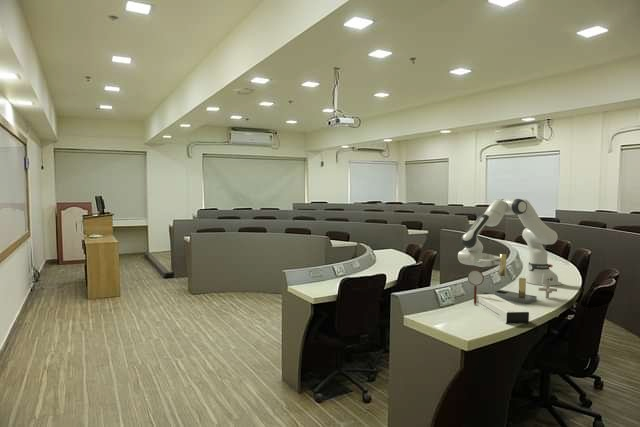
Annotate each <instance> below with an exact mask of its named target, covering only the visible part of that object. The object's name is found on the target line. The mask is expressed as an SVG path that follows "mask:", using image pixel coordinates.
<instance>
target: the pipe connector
mask: <svg viewBox="0 0 640 427" xmlns="http://www.w3.org/2000/svg"><path fill="white" fill-rule="evenodd" d="M549 284H550V282H549V281H546V286H543V287H537V289H538V291H539V292H541V291H542V292H545V298H546V299H549V298H550V294H552V293H553V292H555V293H556V292H558V288H550V286H549Z"/></svg>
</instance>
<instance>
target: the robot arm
mask: <svg viewBox="0 0 640 427" xmlns="http://www.w3.org/2000/svg"><path fill="white" fill-rule="evenodd" d="M505 215H507V216H515V215H517V217H518V219H519V220H520V222H521V224H522V226H523V227H524V229H523V230H522V233H521V236H522V239H523V240H524V241H525V242H526V244H527V247H528V251H529V262H528V273H527V278H526V284H531V285H537V286H538V285H539V286H543V287H544V286H545V287H546V281H549V282H550V284H549V287H550V286H559V285H562V284H563V283H562V282H561V281H559V276H558V275H557V273H555V272H554V271H553V270H551V269H550V268H553V264H551V263H548V257H549V256H548V251H547V250H546V249H545V248H544V246H545V245H547V246H548V245H554V244H556V242H557V241H558V233H557V232H556V231H555V230H554V229H552V228H550V227H549V226H548V225H547V224H545V222H543V221H542V219H541V218H540V217H539V215H538V213H537V212H536V210H535V209H534V207H533V205H532V204H531V203H530V201H529V200H527V199H524V198H502V199H495V200H493V201H492V202H491V203H490V204H489V206H488V207H487V209H486V210H485V212H484V213H482V214H481V215H479V216H478V217H477V218H476V220H475V221H474V222H473V223H472V225H471V226H470V227H469V228H468V229H467V231H465V232H464V233H463V234H462V235H461V238H460V243H461V245H462V246H463V247H464V248H463V249H462V250H460V251H458V253H457V260H458V261H459V262H460V264H463V265H466V266H467V265H468V266H475V267H479V268H480V267H481V268H486V267H493V266H499V265H503V262H500V255H499V256H498V255H494V254H491V253H485V252H483V251H484V245H483V243H482V242H481V240H479V238H478V235H479V234H480V232H481V231H482V229H484V227H485V226H487V227H491V228H492V227H496V226H497V225H499V223H500V222H501V221H502V219H503V217H504V216H505ZM543 245H544V246H543ZM506 264H507V261H506Z"/></svg>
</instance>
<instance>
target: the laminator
mask: <svg viewBox="0 0 640 427" xmlns="http://www.w3.org/2000/svg"><path fill="white" fill-rule="evenodd" d="M475 306H477V307H478V308H480V309H482V310H483V311H485V312H487V313H488V314H489V313H490V315H492V316H493V317H494V316H495V317H494V318H496V319H497V318H498V319H497V320H499V319H500V322H502V321H503V322H502V323H503V324H505V325H509V324H508V323H515V324H529V322H530V313H529V311H527V310H525V309H523V308H521V307H519V306H517V305H516V304H514V303H512V302H510V301H509V300H505V299H502V298H500V297H498V296H496V295H494V294H488V293H487V294H481V293H480V294H476V305H475Z"/></svg>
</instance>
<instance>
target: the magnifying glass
mask: <svg viewBox="0 0 640 427" xmlns="http://www.w3.org/2000/svg"><path fill="white" fill-rule="evenodd" d="M484 279H485V278H484V273H482V272H481V270H477V269H474V270H471V271H469V272H468V275H467V280H468V282H469V283H470V284H471V285H473V286H474V287H473V292H474V293H473V305H474V306H477V305H476V295H477V287H478V286H480V285H481V284H483V283H484V281H485V280H484Z"/></svg>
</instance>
